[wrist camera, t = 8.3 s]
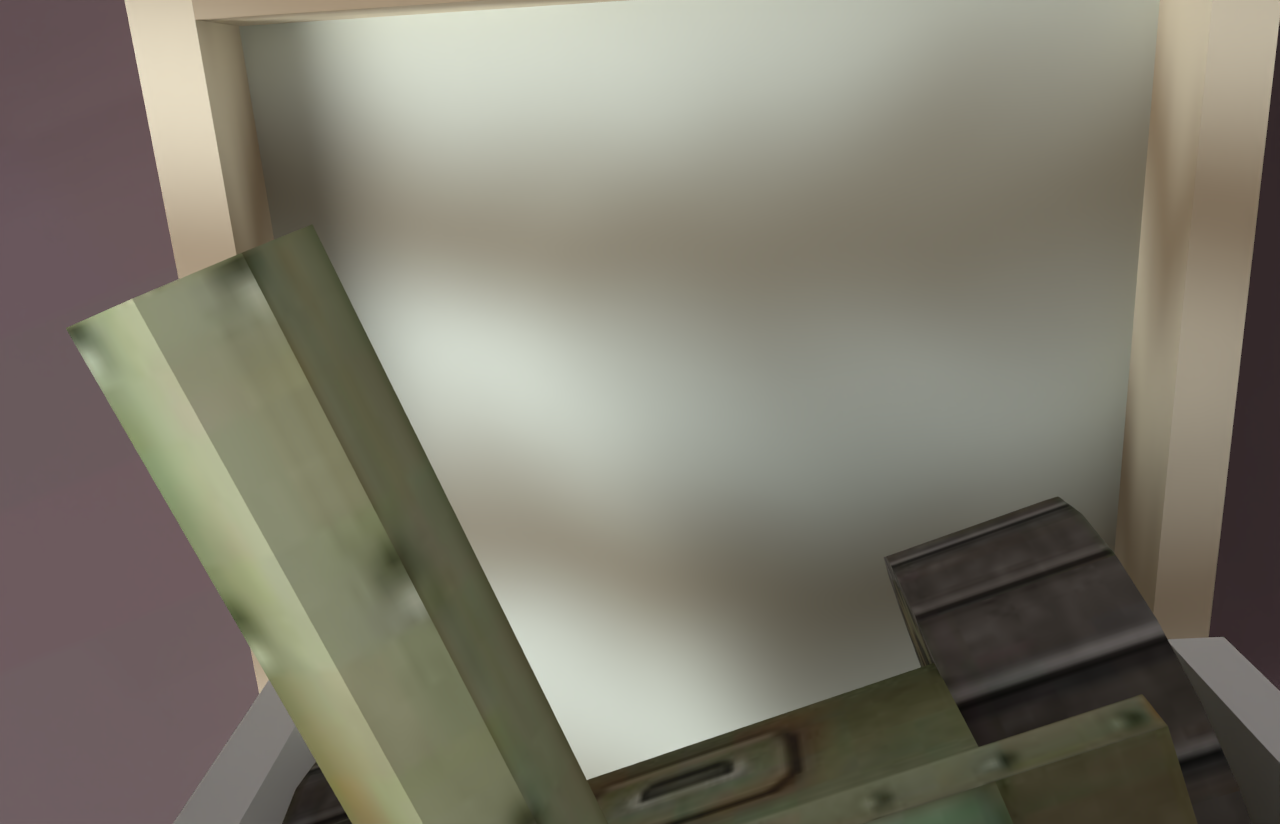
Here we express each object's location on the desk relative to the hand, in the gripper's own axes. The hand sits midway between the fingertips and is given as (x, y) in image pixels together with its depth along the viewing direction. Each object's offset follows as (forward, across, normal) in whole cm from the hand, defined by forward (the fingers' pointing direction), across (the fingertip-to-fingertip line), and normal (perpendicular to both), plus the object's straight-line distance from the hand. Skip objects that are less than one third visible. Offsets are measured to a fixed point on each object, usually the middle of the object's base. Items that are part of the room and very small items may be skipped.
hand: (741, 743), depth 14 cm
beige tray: (+7, 0, 0) cm, 7 cm away
